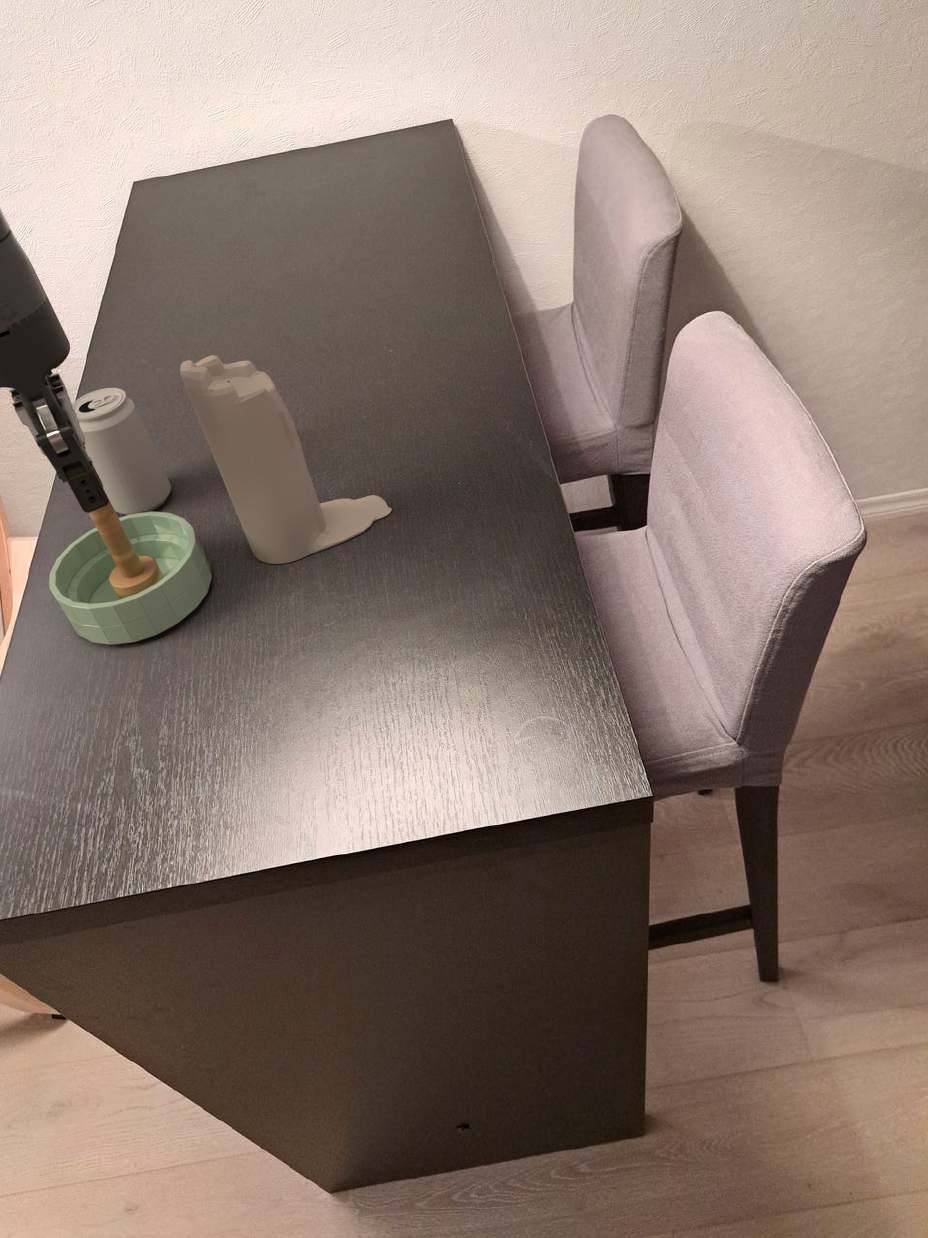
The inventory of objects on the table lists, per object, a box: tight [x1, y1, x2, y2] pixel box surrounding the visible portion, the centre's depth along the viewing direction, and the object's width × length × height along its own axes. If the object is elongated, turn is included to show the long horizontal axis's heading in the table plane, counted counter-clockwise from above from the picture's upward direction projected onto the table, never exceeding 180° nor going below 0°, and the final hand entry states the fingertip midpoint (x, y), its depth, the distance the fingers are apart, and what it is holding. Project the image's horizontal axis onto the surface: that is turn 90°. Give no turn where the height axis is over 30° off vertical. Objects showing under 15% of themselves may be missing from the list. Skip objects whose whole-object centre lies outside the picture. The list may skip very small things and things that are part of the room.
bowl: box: [48, 511, 213, 646], centre depth 86 cm, size 13×13×5 cm
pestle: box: [88, 469, 164, 599], centre depth 82 cm, size 4×4×15 cm
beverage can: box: [72, 387, 172, 516], centre depth 96 cm, size 6×6×12 cm
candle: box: [179, 354, 392, 565], centre depth 84 cm, size 7×14×20 cm, turn 113°
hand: (94, 499), depth 80 cm, fingers closed on pestle, 2 cm apart
